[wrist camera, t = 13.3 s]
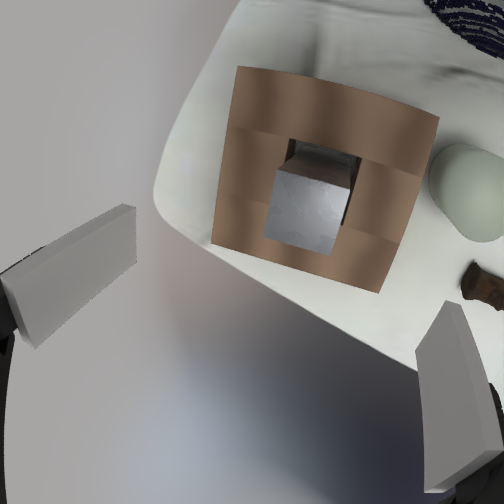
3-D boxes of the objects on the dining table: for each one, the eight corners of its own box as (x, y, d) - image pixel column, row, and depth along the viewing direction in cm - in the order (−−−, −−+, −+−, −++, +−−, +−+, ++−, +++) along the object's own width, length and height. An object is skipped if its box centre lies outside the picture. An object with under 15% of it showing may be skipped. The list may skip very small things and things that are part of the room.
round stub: (499, 161, 23) (531, 175, 17) (476, 226, 27) (501, 253, 21) (440, 132, 25) (464, 138, 19) (418, 202, 29) (435, 225, 23)
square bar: (348, 157, 29) (350, 189, 17) (337, 197, 31) (329, 256, 19) (305, 145, 30) (276, 169, 18) (296, 186, 32) (262, 236, 20)
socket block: (425, 116, 25) (439, 117, 20) (375, 269, 33) (378, 293, 29) (253, 71, 28) (237, 65, 23) (227, 226, 36) (210, 243, 32)
